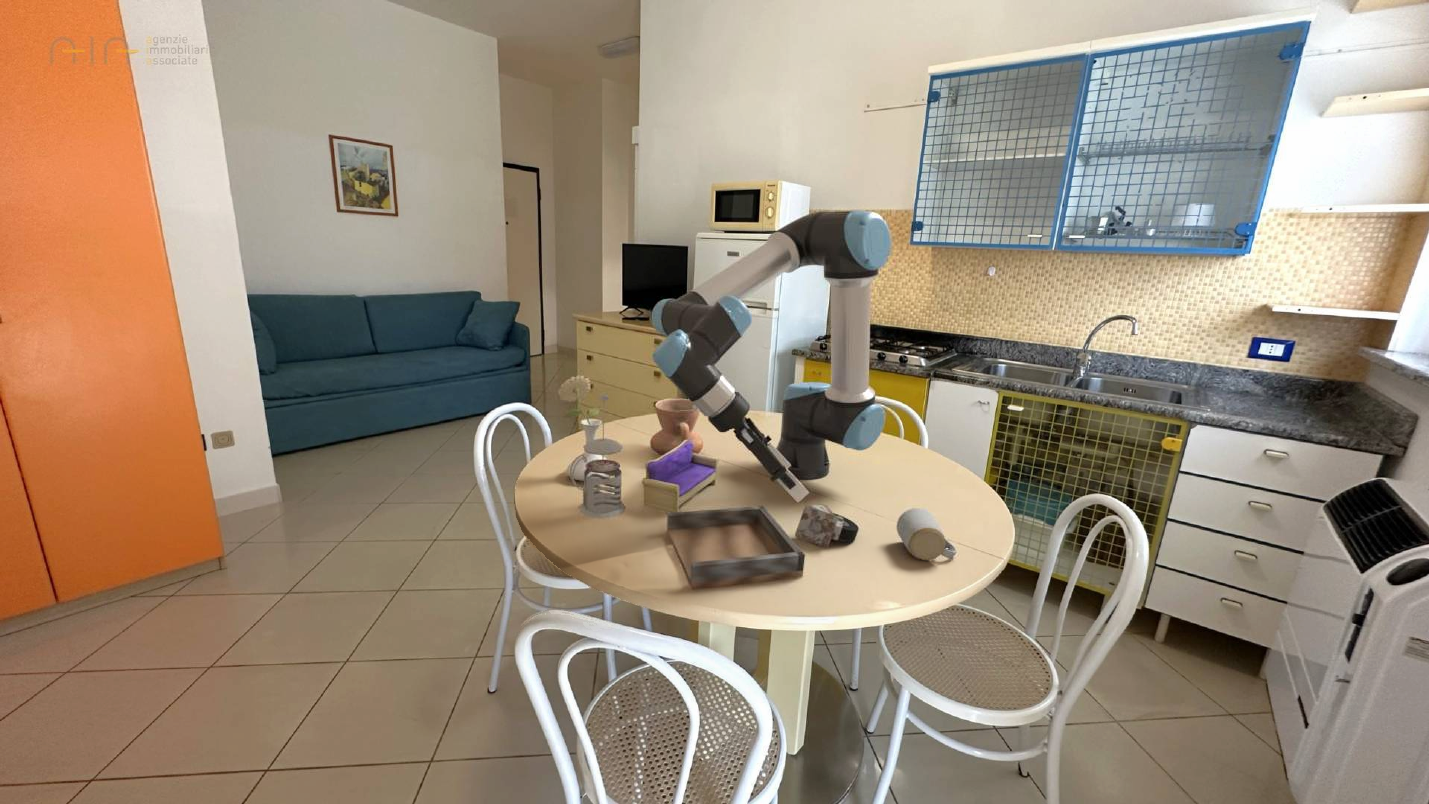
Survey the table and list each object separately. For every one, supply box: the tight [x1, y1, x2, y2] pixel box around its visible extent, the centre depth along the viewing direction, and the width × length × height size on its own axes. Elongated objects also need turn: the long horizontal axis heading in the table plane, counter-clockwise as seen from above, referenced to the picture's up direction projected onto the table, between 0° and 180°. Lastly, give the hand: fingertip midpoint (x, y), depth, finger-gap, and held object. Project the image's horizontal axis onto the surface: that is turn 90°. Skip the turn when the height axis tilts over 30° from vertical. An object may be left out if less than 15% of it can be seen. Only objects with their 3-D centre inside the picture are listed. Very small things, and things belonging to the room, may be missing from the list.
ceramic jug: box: [649, 398, 704, 456], centre depth 155 cm, size 18×14×14 cm
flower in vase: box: [557, 375, 611, 482], centre depth 134 cm, size 13×11×25 cm
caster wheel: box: [794, 503, 860, 549], centre depth 115 cm, size 7×11×10 cm
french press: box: [569, 393, 627, 519], centre depth 118 cm, size 10×12×25 cm
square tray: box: [666, 505, 806, 590], centre depth 106 cm, size 20×20×4 cm
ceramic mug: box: [896, 507, 957, 561], centre depth 110 cm, size 11×8×8 cm
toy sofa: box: [641, 440, 720, 514], centre depth 130 cm, size 21×9×10 cm, turn 154°
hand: (794, 482), depth 110 cm, fingers open, 13 cm apart
